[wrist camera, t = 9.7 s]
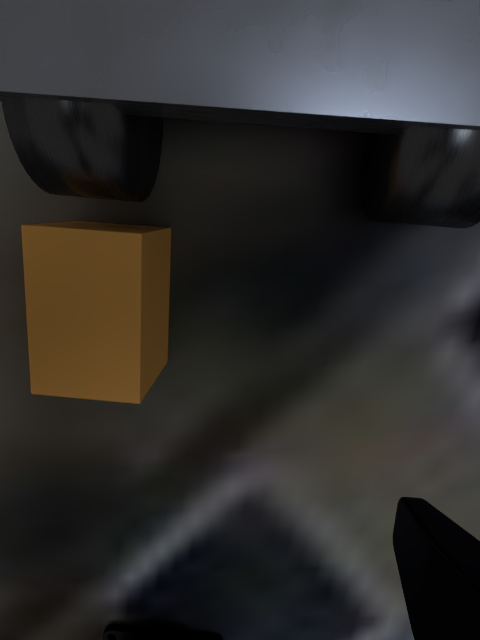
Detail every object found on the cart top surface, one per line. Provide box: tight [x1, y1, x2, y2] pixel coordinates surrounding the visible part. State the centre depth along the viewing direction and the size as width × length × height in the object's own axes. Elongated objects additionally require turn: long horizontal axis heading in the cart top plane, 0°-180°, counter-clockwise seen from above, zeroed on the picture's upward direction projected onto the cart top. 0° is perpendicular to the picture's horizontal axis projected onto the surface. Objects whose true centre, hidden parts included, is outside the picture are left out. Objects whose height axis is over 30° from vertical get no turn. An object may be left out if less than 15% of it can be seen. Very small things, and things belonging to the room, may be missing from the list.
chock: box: [21, 221, 171, 404], centre depth 17 cm, size 6×4×4 cm, turn 176°
